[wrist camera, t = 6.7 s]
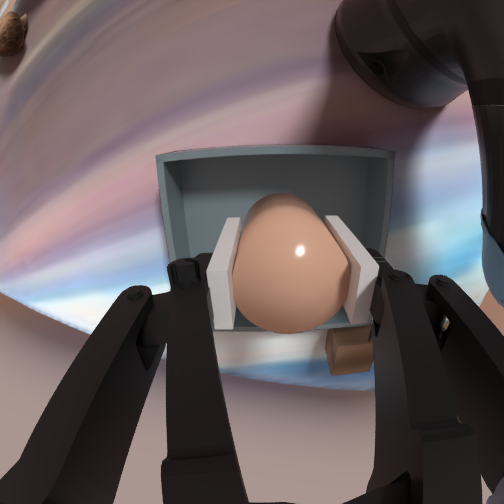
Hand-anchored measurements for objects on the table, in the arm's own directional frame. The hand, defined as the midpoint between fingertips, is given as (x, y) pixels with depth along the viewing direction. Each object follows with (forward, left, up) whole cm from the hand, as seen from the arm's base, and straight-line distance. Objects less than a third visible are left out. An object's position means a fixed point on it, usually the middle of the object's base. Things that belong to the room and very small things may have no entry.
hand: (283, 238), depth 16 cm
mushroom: (-29, -34, -11) cm, 46 cm away
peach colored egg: (0, 0, -2) cm, 2 cm away
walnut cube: (+17, +9, -11) cm, 23 cm away
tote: (+3, 0, -11) cm, 11 cm away
